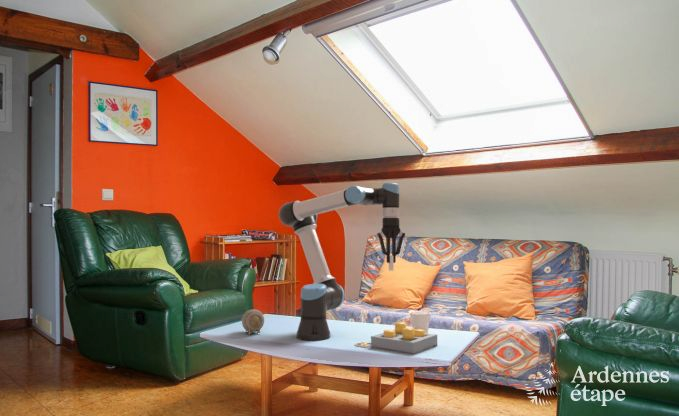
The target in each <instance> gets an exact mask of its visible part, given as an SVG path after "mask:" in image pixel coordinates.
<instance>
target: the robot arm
mask: <svg viewBox="0 0 679 416" xmlns="http://www.w3.org/2000/svg"><path fill="white" fill-rule="evenodd" d="M399 186H400V185H399V183H396V182H383V183H382V187H379V188H378V187H377V188H373V187H371V188H370V187H365V186H359V185H351V186H349V187H348V188H347V189H343V190H339V191H335V192H332V193H328V194H325V195H320V196H317V197H313V198H310V199H307V200H302V201H300V200H295V201H290V202H286V203H283V205H281V206H280V208H279V209H278V219H279V221H280V222H281V223H282V224H283V225H285V226H286V227H291V228H292V229H293V232H294V235H295V234H296V235H297V236H298V238H299V241H300V244H301V246H302V249H303V252H304V255H305V259H306V261H307V262H306V263H307V265H308V267H309V271H310V273H311V276H312V280H313V283H311V284H310V283H309V284H305V285H303V286H302V287H301V288H300V295H299V297H300V321H299V323H298V327H297V331H296V338H297V339H299V338H300V339H299V340H303V339H304V341H320V340H321V341H323V340H327V339H330V338H331V330H330V328H329V324H328V321H327V311H331V310H332V311H333V310H335V309H338V308H339V307H340V306H342V304H343V302H344V301H345V297H346V295H345V294H346V293H345V290H344V289H343V286H341V285H340V284H338V283H337V279H336V277H334V276H333V275H332V274H331V273H330V268H329V267H328V263H327V260H326V258H325V254H324V251H323V248H322V247H321V246H322V245H321V243H320V241H319V240H320V239H319V237H318V234H317V232H316V229H317V227H318V225H317V219H318V215H320V214H324V213H327V212H332V211H336V210H339V209H342V208H346V207H350V206H356V205H361V206H371V205H372V206H373V205H382V227H381V231H379V232H377V233H376V236H377V237H378V240H379V244H380V248H381V253H382V254H383V255H385V256H386V263H387V264H388V271H392V272H393V271H394V264H395V263H396V261H397V259H396V256H398V255H400V253H401V248H402V244H403V240H404V237H406V233H405V232H403V231H401V228H400V218H399V217H400V195H401V194H400V187H399ZM398 235H399V238H398ZM383 236H384V237H385V242H384V238H383ZM397 238H398V242H397V240H396V239H397ZM396 242H397V244H396ZM385 243H386V244H385ZM385 246H386V247H385ZM396 246H397V247H396Z"/></svg>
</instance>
